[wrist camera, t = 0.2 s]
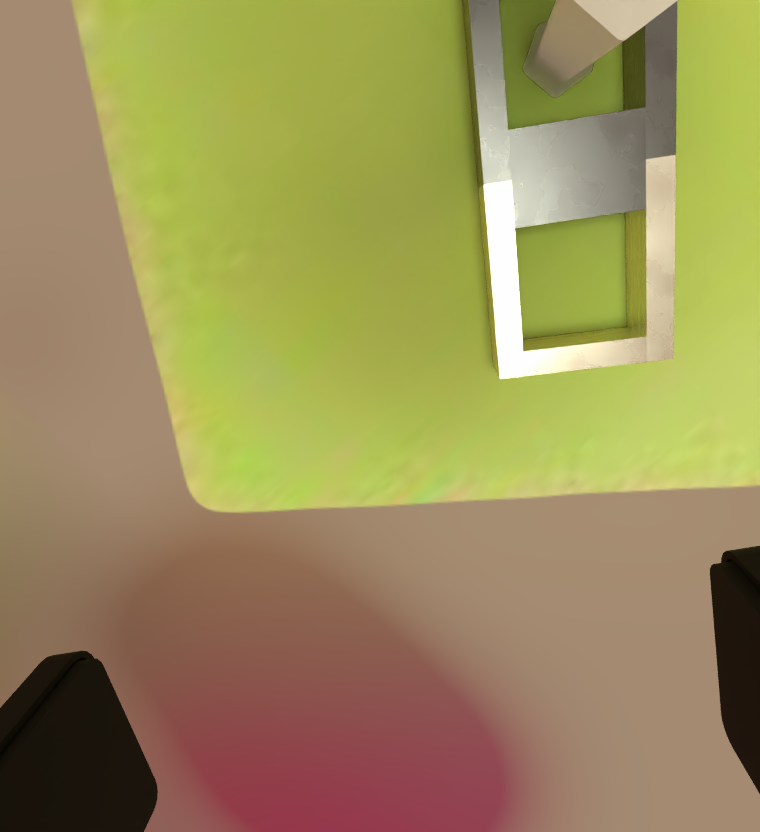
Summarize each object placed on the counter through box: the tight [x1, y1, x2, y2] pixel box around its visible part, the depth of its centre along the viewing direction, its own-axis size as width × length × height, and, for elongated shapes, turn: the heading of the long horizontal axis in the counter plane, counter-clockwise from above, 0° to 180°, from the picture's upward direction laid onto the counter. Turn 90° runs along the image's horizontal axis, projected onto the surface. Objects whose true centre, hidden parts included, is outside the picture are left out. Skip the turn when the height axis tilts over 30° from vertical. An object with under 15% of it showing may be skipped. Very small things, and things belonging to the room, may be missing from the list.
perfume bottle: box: [523, 0, 678, 98], centre depth 25 cm, size 5×4×15 cm
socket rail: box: [462, 0, 677, 379], centre depth 33 cm, size 22×10×4 cm, turn 8°
